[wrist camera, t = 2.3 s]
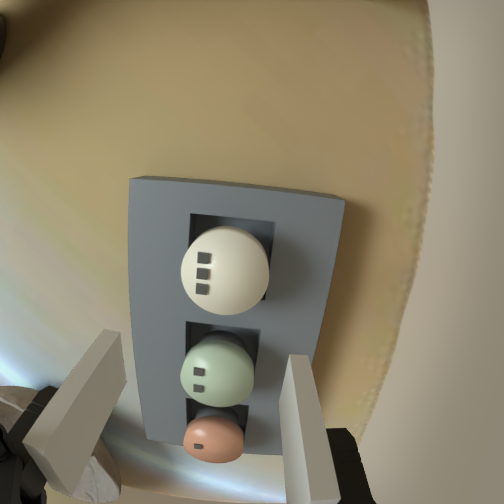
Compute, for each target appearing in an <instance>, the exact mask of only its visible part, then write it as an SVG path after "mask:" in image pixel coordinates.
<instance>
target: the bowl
mask: <svg viewBox="0 0 504 504" xmlns="http://www.w3.org/2000/svg"><path fill="white" fill-rule="evenodd" d="M38 392H39V391H37V390H34V389H31V388H26V387H19V386H0V423H1V424H2V425H3V426H4V427H5V429H6V431H7V433H8V432H9V431H10V430H11V428H12V427H13V425H14V424H15V423H16V421H17V420H18V419H19V417H20V416H21V415H22V413H23V412H24V410H25V411H26V408H27V406H28V405H29V404H30V403H32V400H33V399H34V397H35V396H36V395H37V393H38ZM46 485H48V486H50V484H49V483H48V482H46ZM50 487H51V486H50ZM51 488H52V487H51ZM120 492H121V478H120V474H119V469H118V468H117V466H116V463H115V461H114V459H113V458H112V456H111V453H110V452H109V450H108V448H107V447H106V445H105V444H104V442H103V440H102V439H101V437H99V439H98V441H97V443H96V445H95V447H94V449H93V452H92V454H91V456H90V458H89V460H88V462H87V464H86V467H85V469H84V471H83V473H82V475H81V478H80V480H79V482H78V484H77V487H76V489H75V491H74V493H73V496H72V498H75V499H78V500H81V501H85V502H89V503H94V504H95V503H98V502H100V503H109V502H112V501H115V500H118V499H119V496H120ZM65 495H66V494H65ZM67 496H68V495H67ZM70 497H71V496H70Z"/></svg>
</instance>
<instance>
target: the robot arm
mask: <svg viewBox="0 0 504 504" xmlns="http://www.w3.org/2000/svg"><path fill="white" fill-rule="evenodd" d="M5 35H6V27H5V22H4V19H3V18H2V17H1V16H0V57H1V54H2V51H3V47H4V42H5ZM126 383H127V381H126V374H125V368H124V360H123V353H122V344H121V336H120V332H115V331H110V330H105V329H104V330H103V331H102V332H101V334H100V335H99V336H98V337H97V339H96V340H95V341H94V343H93V344H92V345H91V346H90V348H89V349H88V350H87V352H86V353H85V354H84V355H83V357H82V358H81V359H80V361H79V362H78V363H77V365H76V366H75V367H74V369H73V370H72V371H71V373H70V374H69V375H68V377H67V378H66V379H65V381H64V382H63V384H62V385H61V386H60V388H59V389H58V388H55V387H53V386H50V385H49V386H47V387H46V388H44V389H43V390H41V391H39V392H38V393H37V395H36V396H35V397H34V399H33V400H32V403H30V404H29V405H28V406H27V408H26V411H25V410H24V412H23V413H22V415H21V416H20V417H19V419H18V420H17V421H16V423H15V424H14V425H13V427H12V428H11V430H10V431H9V432H8V433H7V431H6V429H5V427H4V426H3V425H2V424H1V423H0V504H46V502H47V496H46V491H45V489H44V486H45V484H46V482H48V483H49V484H50V486H51V487H52V489H54V490H56V491H59V492H61V493H63V494H66V495H68V496H71V497H72V496H73V493H74V491H75V489H76V487H77V484H78V482H79V480H80V478H81V475H82V473H83V471H84V469H85V467H86V464H87V462H88V460H89V458H90V456H91V454H92V452H93V449H94V447H95V445H96V443H97V441H98V439H99V437H100V435H101V433H102V431H103V429H104V426H105V424H106V422H107V420H108V418H109V416H110V414H111V412H112V410H113V408H114V406H115V404H116V402H117V400H118V398H119V396H120V394H121V392H122V390H123V388H124V386H125V385H126ZM279 412H280V425H281V437H282V449H283V462H284V475H285V488H286V502H287V504H376V503H375V501H374V500H373V498H372V495H371V492H370V488H369V485H368V481H367V478H366V474H365V471H364V468H363V464H362V462H361V457H360V454H359V453H358V447H357V444H356V441H355V438H354V437H353V436H352V435H351V433H350V432H349V431H348V430H347V429H346V428H328V429H326V428H325V424H324V419H323V415H322V411H321V406H320V402H319V398H318V394H317V389H316V385H315V381H314V377H313V373H312V369H311V365H310V361H309V357H308V355H295V354H289V359H288V363H287V368H286V372H285V377H284V382H283V386H282V390H281V395H280V399H279Z"/></svg>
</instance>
